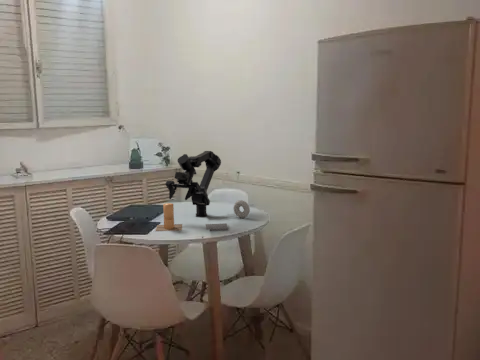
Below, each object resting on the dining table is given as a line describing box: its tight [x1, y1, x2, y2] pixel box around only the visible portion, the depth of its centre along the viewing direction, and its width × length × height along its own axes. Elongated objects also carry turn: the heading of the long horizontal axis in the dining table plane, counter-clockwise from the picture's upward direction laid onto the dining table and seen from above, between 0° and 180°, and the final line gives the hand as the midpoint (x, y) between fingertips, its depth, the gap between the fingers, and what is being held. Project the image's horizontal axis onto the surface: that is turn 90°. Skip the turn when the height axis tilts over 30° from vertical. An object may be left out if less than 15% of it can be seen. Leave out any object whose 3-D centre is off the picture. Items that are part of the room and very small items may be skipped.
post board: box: [155, 223, 183, 232], centre depth 251 cm, size 13×13×4 cm
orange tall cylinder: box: [162, 202, 175, 229], centre depth 250 cm, size 5×5×12 cm
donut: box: [233, 199, 251, 219], centre depth 274 cm, size 10×3×10 cm, turn 58°
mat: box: [205, 223, 229, 232], centre depth 252 cm, size 11×11×1 cm
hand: (177, 199), depth 256 cm, fingers open, 9 cm apart
